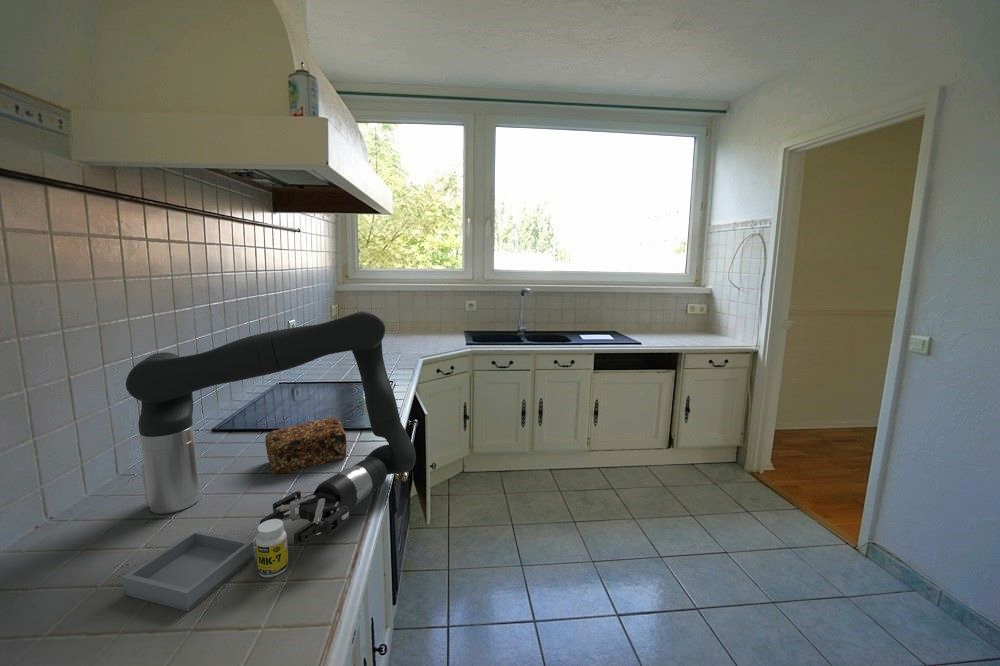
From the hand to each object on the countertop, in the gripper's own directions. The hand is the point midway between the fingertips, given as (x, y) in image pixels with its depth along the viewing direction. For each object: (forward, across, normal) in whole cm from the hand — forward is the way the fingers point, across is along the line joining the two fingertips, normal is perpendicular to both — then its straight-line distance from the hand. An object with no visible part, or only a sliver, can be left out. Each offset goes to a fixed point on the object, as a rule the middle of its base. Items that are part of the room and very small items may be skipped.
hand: (277, 533), depth 79 cm
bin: (+8, -11, +6) cm, 15 cm away
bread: (-32, -28, +6) cm, 43 cm away
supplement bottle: (+1, 0, +6) cm, 6 cm away
